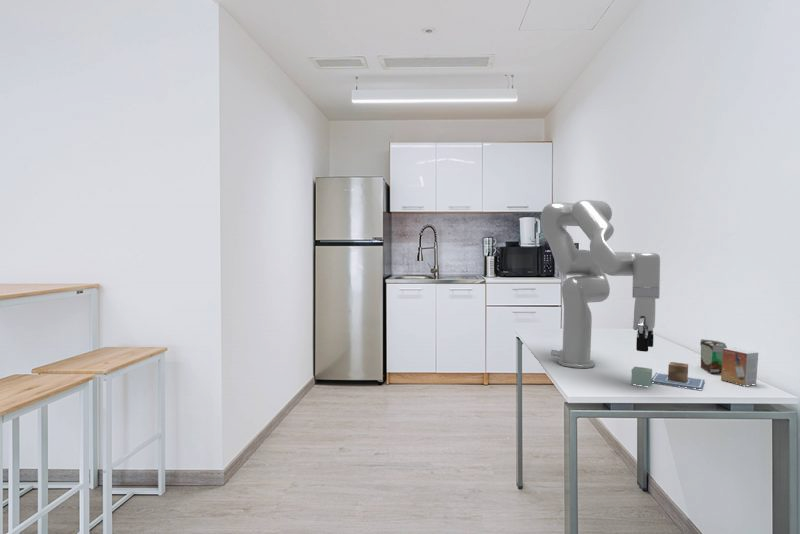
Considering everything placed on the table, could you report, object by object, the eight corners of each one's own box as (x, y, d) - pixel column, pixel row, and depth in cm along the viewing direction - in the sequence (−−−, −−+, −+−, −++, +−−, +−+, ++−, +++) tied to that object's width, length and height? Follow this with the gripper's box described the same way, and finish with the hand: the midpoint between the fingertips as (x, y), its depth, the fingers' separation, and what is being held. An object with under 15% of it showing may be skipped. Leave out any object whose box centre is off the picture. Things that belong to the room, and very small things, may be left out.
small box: (720, 380, 171) (722, 348, 170) (732, 379, 173) (733, 347, 172) (745, 387, 163) (746, 353, 163) (756, 385, 165) (758, 352, 165)
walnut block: (667, 380, 166) (668, 364, 166) (669, 377, 170) (670, 361, 170) (685, 383, 163) (686, 367, 163) (687, 379, 167) (688, 364, 167)
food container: (732, 376, 176) (733, 346, 176) (712, 375, 177) (713, 345, 177) (717, 367, 188) (719, 340, 188) (699, 366, 189) (700, 339, 189)
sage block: (631, 385, 163) (631, 369, 163) (634, 382, 167) (634, 366, 167) (648, 388, 160) (649, 372, 160) (651, 384, 164) (652, 368, 164)
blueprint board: (650, 383, 166) (650, 380, 166) (656, 375, 176) (656, 372, 176) (701, 390, 158) (701, 387, 158) (704, 382, 168) (704, 379, 168)
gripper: (637, 291, 171) (636, 343, 171) (627, 294, 157) (626, 351, 157) (663, 292, 167) (662, 346, 167) (655, 295, 153) (654, 354, 153)
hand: (644, 348), depth 162 cm, fingers open, 9 cm apart
